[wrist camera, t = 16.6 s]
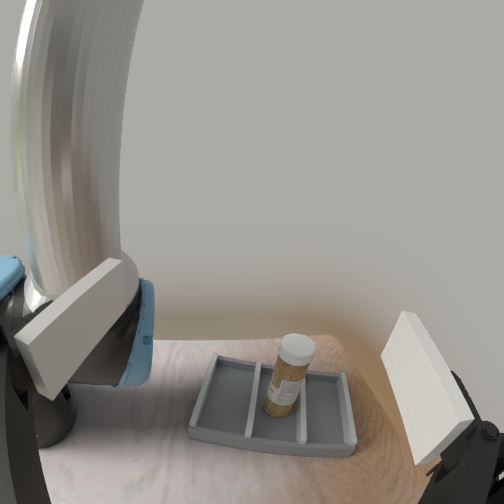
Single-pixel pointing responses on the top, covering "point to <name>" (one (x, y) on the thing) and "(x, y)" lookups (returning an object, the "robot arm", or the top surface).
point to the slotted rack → (268, 427)
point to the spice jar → (288, 374)
